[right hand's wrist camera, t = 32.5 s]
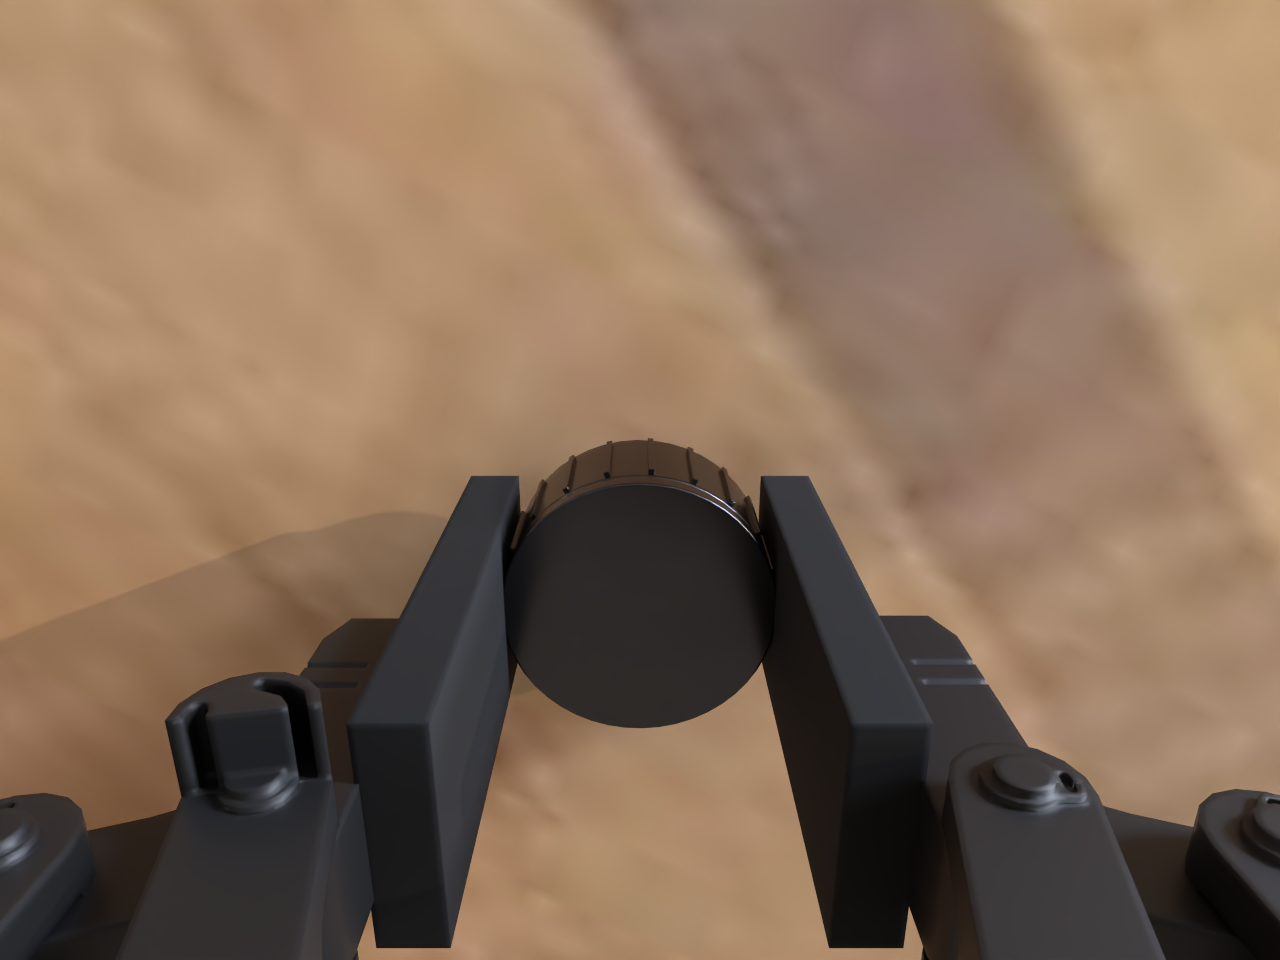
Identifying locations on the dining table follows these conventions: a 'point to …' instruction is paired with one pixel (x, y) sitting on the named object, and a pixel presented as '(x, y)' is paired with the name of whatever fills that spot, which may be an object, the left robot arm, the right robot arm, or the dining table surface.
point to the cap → (639, 586)
